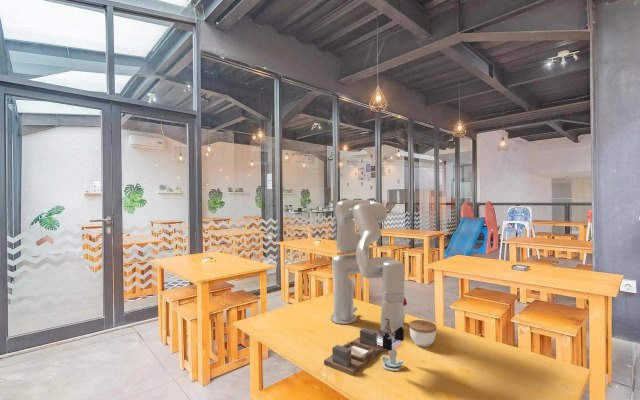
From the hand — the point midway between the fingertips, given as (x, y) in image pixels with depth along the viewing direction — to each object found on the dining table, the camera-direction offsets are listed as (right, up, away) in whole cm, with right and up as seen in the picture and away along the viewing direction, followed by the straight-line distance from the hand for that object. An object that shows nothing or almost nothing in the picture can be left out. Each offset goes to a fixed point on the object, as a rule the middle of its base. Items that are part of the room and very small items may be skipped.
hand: (393, 344), depth 118 cm
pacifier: (-1, -8, 0) cm, 8 cm away
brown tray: (-13, -8, +8) cm, 17 cm away
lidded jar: (+16, -8, +19) cm, 26 cm away
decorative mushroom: (+10, -7, +41) cm, 42 cm away
